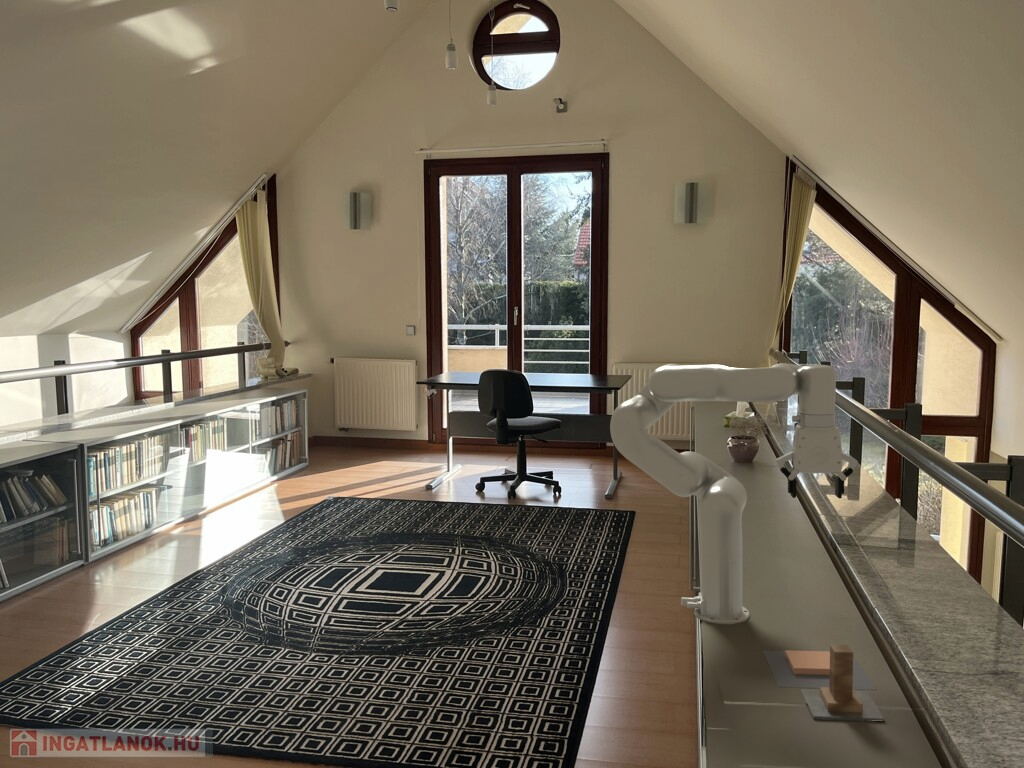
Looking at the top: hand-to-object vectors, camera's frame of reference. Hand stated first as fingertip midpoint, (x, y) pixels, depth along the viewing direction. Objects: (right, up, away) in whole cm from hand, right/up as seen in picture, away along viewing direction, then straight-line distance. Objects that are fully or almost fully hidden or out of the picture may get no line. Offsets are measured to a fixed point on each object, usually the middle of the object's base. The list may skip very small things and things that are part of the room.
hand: (815, 496), depth 180 cm
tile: (-6, -31, -13) cm, 34 cm away
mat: (-7, -33, -18) cm, 38 cm away
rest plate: (-8, -34, -32) cm, 47 cm away
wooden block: (-8, -33, -32) cm, 47 cm away
